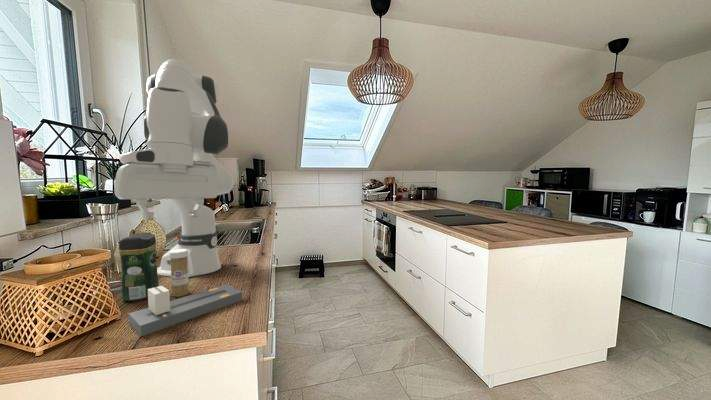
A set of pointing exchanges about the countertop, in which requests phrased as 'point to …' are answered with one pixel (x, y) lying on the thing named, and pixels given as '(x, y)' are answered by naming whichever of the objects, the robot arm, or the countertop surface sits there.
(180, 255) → the sprinkles bottle
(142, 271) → the coffee jar
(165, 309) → the fader tab
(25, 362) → the countertop surface
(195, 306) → the slider console
